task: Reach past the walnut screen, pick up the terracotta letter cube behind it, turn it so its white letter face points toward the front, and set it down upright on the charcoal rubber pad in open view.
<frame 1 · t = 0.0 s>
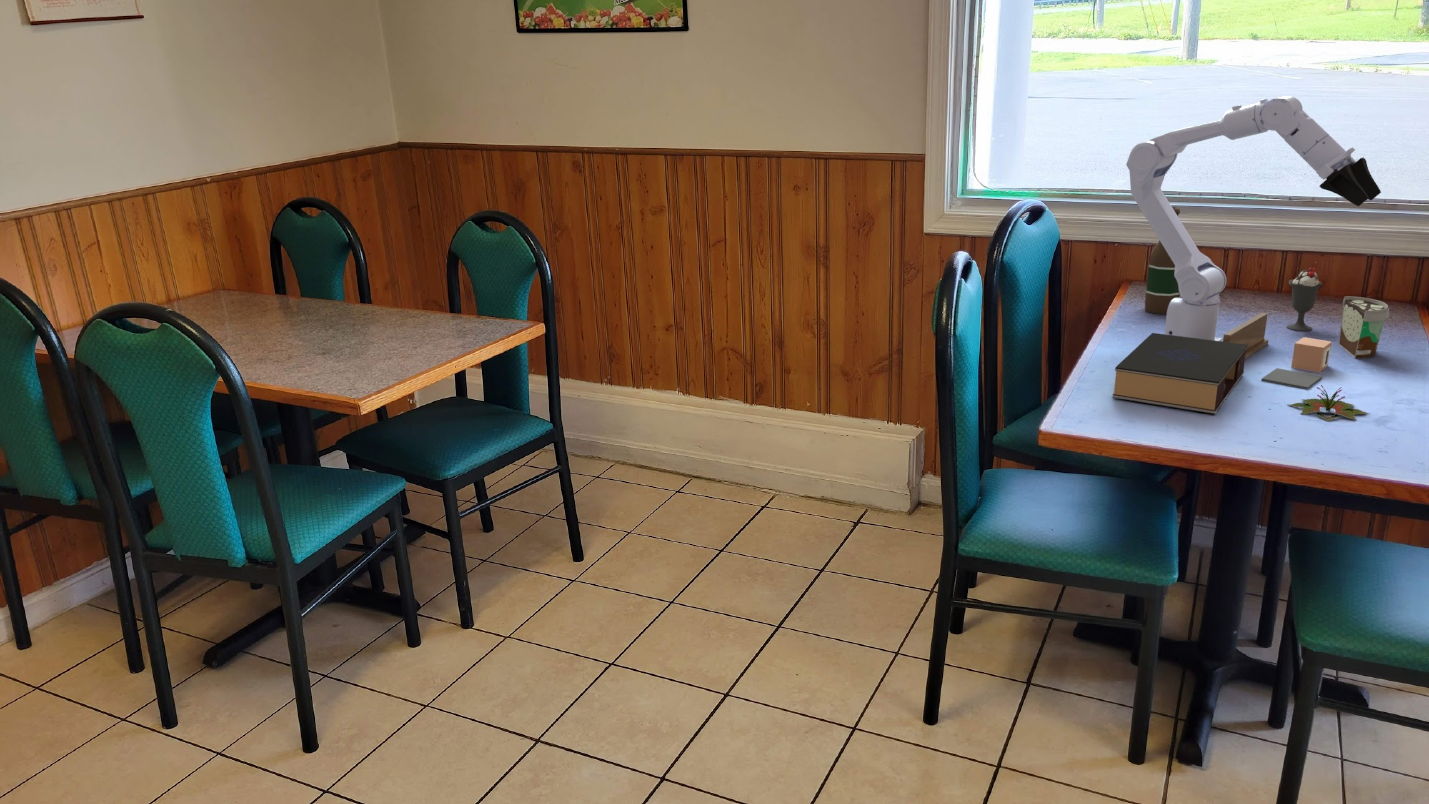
hand: (1369, 199, 191), 32 cm above the table, tool tilted 50°, fingers open, 7 cm apart
lily flower: (1326, 413, 181), on the table
walnut screen: (1242, 354, 211), on the table
beer bottle: (1160, 311, 244), on the table
charcoal pad: (1291, 379, 196), on the table
letter cube: (1309, 367, 203), on the table
food container: (1363, 352, 210), on the table
sundae: (1299, 329, 227), on the table
book: (1179, 390, 195), on the table
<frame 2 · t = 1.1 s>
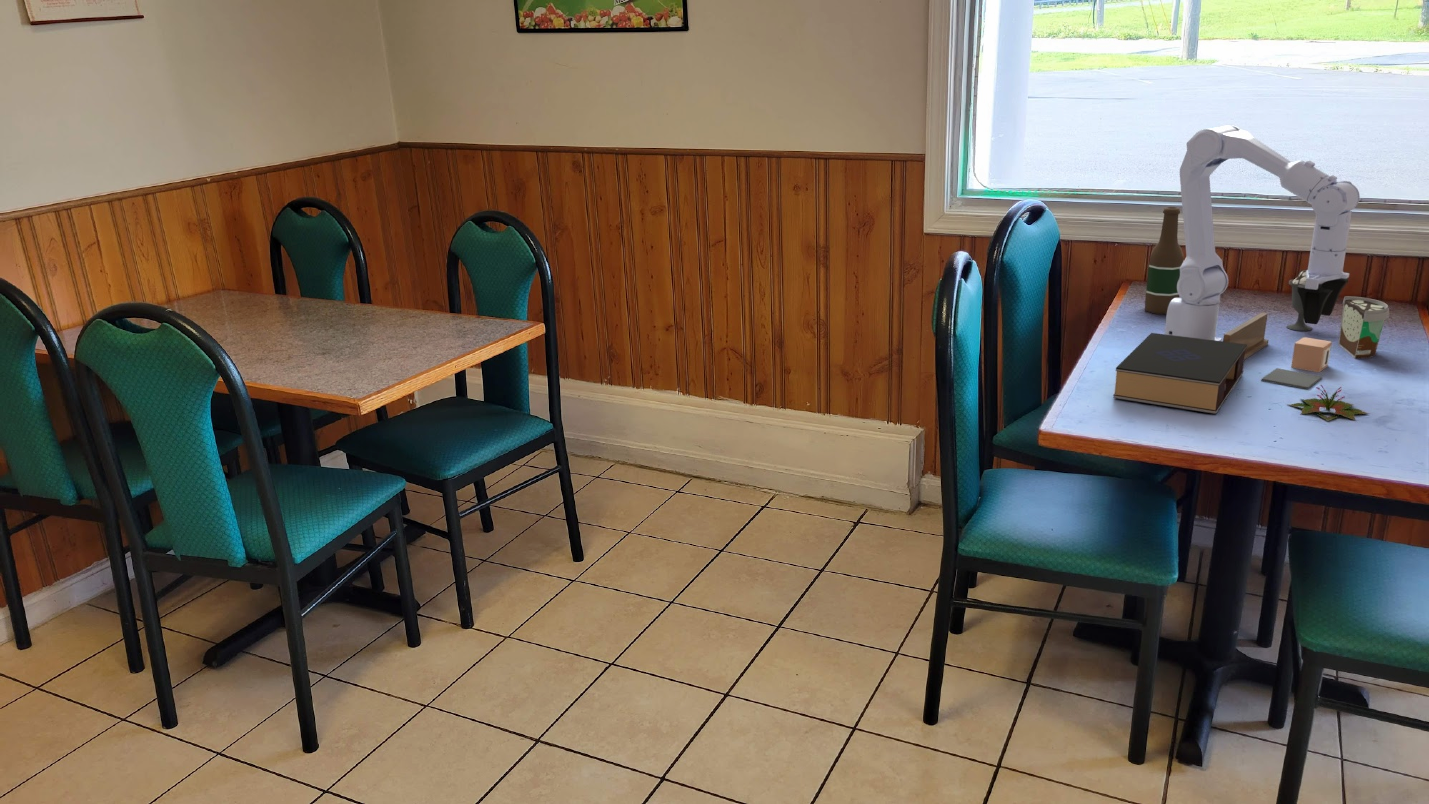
hand: (1317, 318, 200), 10 cm above the table, tool pointing down, fingers open, 7 cm apart
nothing on the table moved.
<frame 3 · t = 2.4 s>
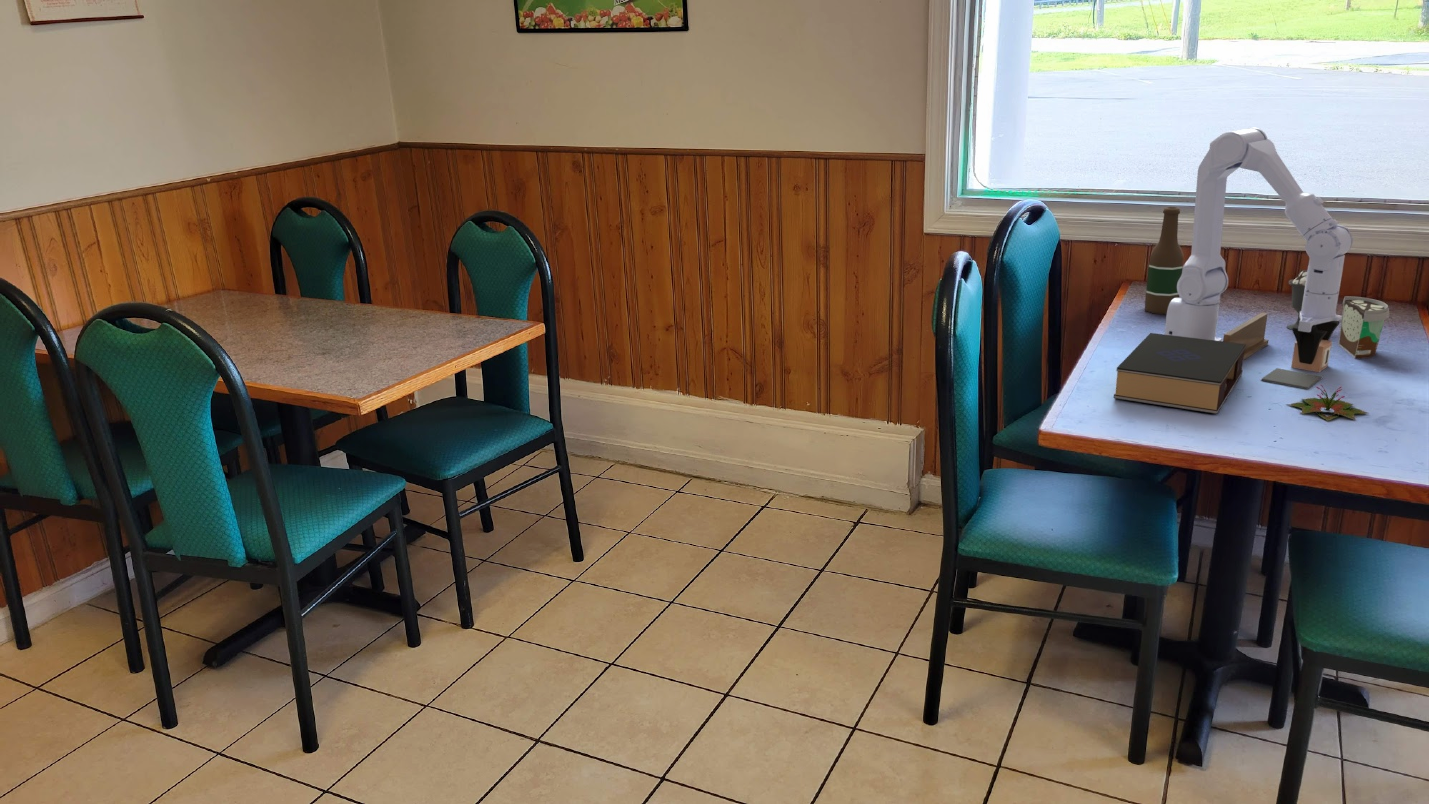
hand: (1310, 359, 202), 1 cm above the table, tool pointing down, fingers closed on letter cube, 5 cm apart
letter cube: (1309, 366, 203), on the table, touching gripper
everything else where it was.
when the fingers open (3 cm above the table, at t = 6.2 s): letter cube drops 1 cm, resting on charcoal pad.
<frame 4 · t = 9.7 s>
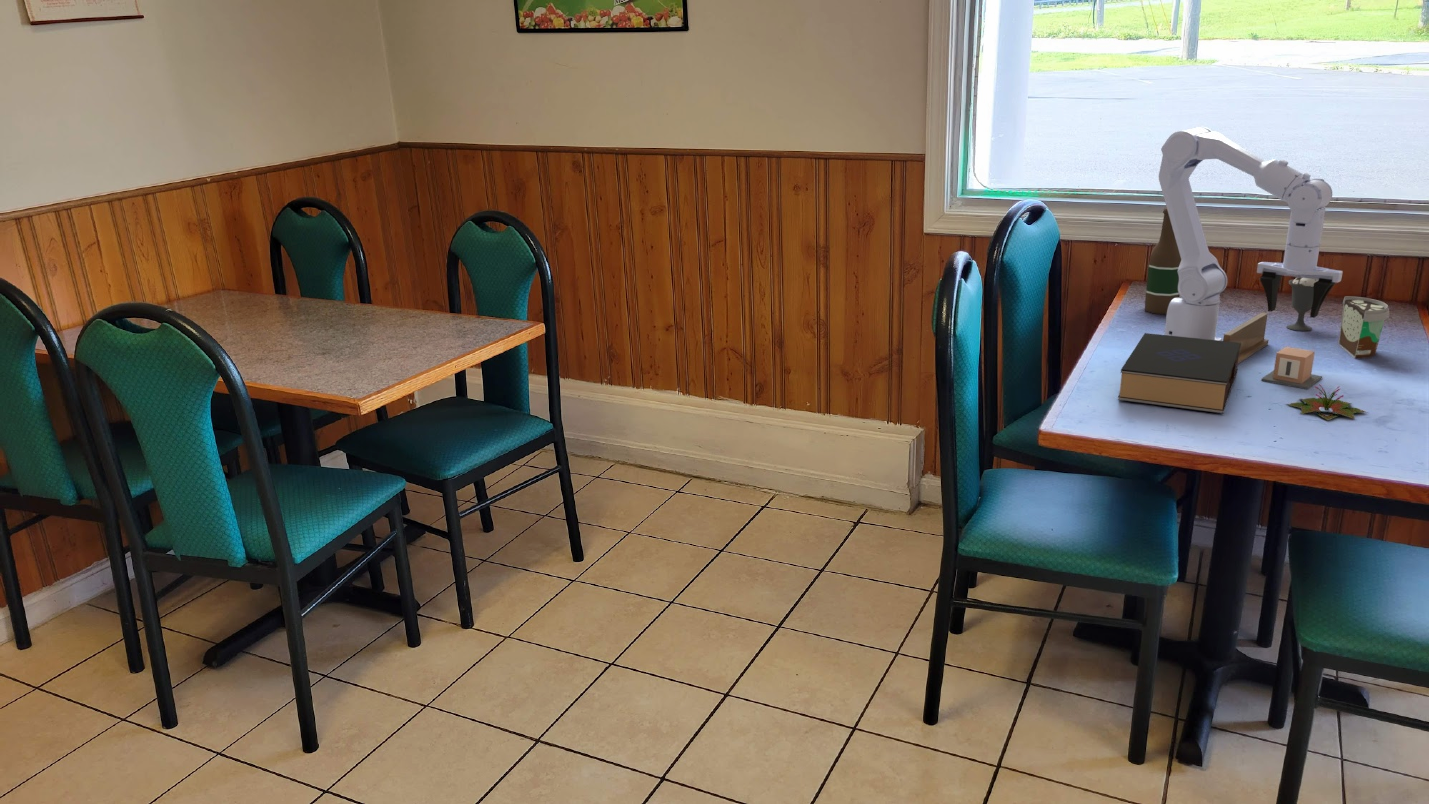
hand: (1292, 313, 204), 9 cm above the table, tool pointing down, fingers open, 7 cm apart
letter cube: (1291, 377, 196), resting on charcoal pad
at the end: letter cube 0.1 cm off-centre on the charcoal pad, point 0.4 cm above the charcoal pad's base; letter cube tilted 0°; the gripper is holding nothing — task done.
